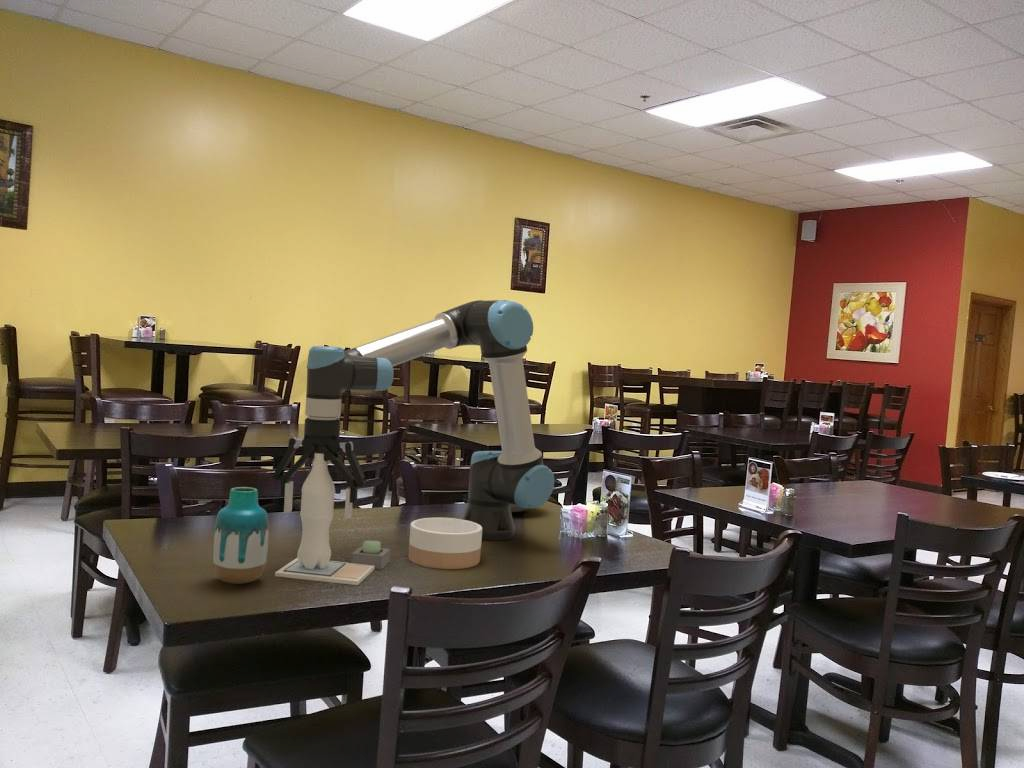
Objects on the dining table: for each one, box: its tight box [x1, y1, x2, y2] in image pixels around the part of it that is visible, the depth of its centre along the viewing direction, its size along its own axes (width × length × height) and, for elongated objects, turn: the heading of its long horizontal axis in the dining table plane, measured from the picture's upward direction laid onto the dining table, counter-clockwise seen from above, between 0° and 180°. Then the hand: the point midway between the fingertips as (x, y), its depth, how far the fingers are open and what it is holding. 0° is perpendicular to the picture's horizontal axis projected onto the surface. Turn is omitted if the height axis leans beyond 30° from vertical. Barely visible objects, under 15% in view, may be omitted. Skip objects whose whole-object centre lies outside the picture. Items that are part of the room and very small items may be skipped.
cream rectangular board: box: [274, 557, 376, 586], centre depth 181 cm, size 18×13×1 cm
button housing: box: [350, 545, 391, 571], centre depth 190 cm, size 7×7×3 cm
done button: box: [362, 539, 382, 555], centre depth 190 cm, size 4×4×4 cm
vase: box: [212, 486, 270, 585], centre depth 170 cm, size 11×11×19 cm
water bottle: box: [296, 453, 336, 569], centre depth 181 cm, size 7×7×25 cm
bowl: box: [408, 517, 482, 570], centre depth 200 cm, size 17×17×8 cm
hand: (317, 514), depth 181 cm, fingers open, 13 cm apart
